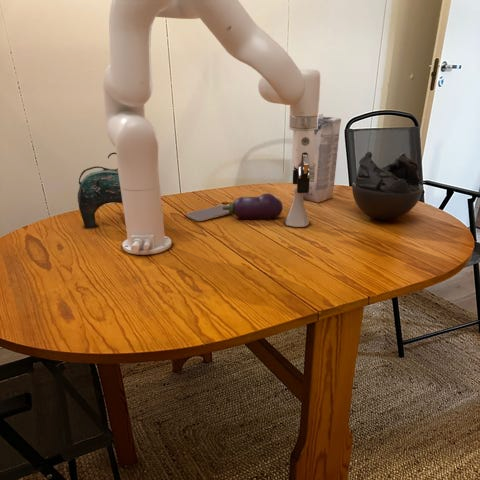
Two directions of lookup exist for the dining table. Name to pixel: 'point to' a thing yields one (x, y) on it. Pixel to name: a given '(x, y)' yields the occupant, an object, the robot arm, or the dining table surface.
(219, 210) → the smartphone
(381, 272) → the dining table surface
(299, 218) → the flask
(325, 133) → the juice carton
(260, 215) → the aubergine
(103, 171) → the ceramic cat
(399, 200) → the bowl of black rocks
